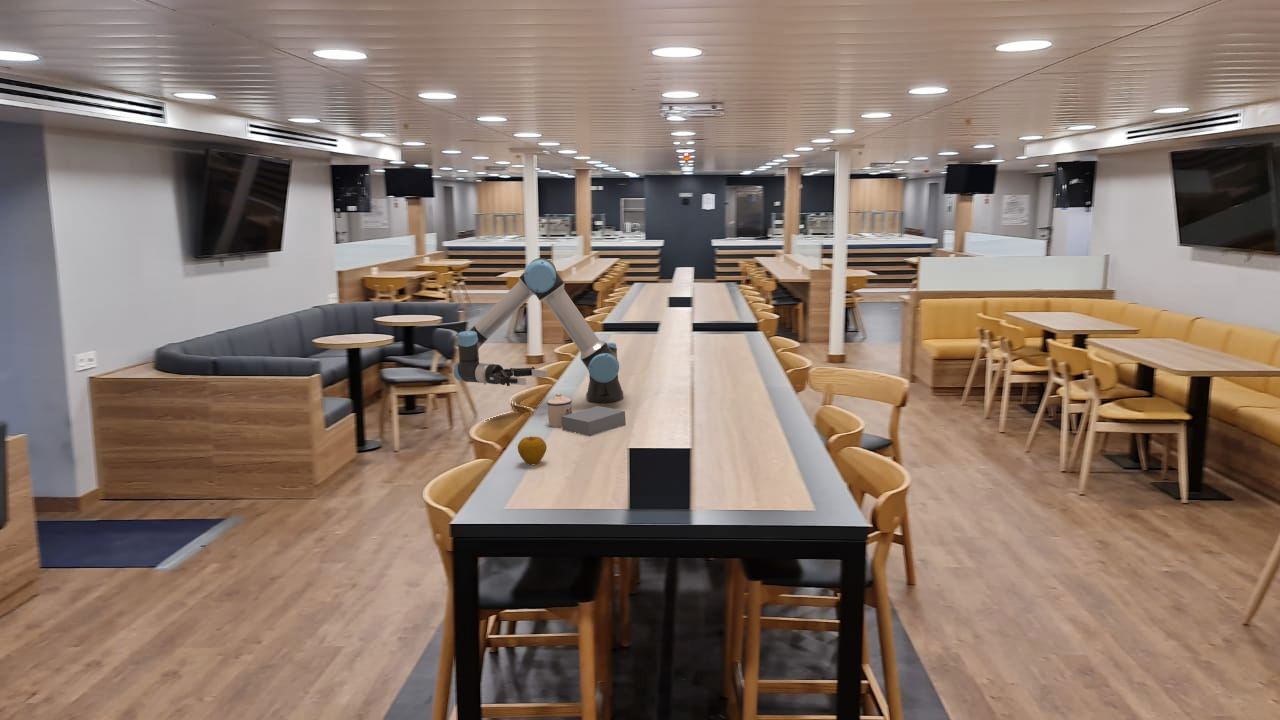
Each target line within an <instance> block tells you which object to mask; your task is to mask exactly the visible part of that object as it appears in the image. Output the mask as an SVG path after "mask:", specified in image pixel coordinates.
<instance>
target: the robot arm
mask: <svg viewBox="0 0 1280 720" xmlns="http://www.w3.org/2000/svg"><path fill="white" fill-rule="evenodd" d="M533 296H536V297H537V299H538V300H539V302H544V303H545V304H546V306H548V308H549V309H550V311H551V312H552V314H553V315H554V316H555V318H556V319H557V321H558V322H559V324H560V325H561V326H562V328H563V329H564V331H565V332H566V333H567V335H568V336H569V338H570V339H571V340H572V342H573V344H574V345H575V346H576V347H577V349H578V350H579V352H580V357H579V359H580V360H581V362H582V363H583V365H584V366H585V368H586V369H587V370H588V376H589V378H588V379H589V381H588V385H587V386H588V388H587V392H586V394H585V399H587V400H588V401H587V400H586V401H587V402H589V401H591V402H590V403H594V402H602V403H603V402H608V403H614V401H615V402H619V401H621V400H623V399H624V391H623V390H622V386H621V384H620V381H619V371H620V362H619V360H618V348H617V344H616V342H606V341H605V340H600V339H599V338H598V336H597V335H596V333H595V332H594V330H593V329H592V327H591V325H589V323H588V322H587V321H586V319H585V318H584V316H583V315H582V313H581V312H580V311H579V309H578V308H577V306H576V305H575V304H574V302H573V300H572V299H571V298H570V296H569V294H568V293H567V292H566V290H565V282H564V281H563V279H562V277H561V275H560V274H559V272H558V271H557V268H556V266H555V264H554V263H553V262H552V261H551V260H549V259H547V258H544V257H539V258H535V259H533V260H531V262H529V264H528V265H527V266H526V268H525V270H524V272H522V274H521V275H520V276H518V281H517V283H515V284H514V285H513V286H512V287H511V288H510V290H508V291H507V292H506V293H505V295H504V296H502V297H501V298H500V299H499V301H497V302H496V304H495V305H493V306H492V307H491V308H490V309H489V311H488V312H486V314H484V316H483V317H481V318H480V319H479V320H478V321H477V323H475V325H474V326H472V327H471V328H470V329H469V330H467V331H466V330H465V331H459V332H458V333H457V340H456V341H457V348H458V349H457V351H458V358H459V361H458V362H456V363H455V365H454V366H453V368H454V369H453V371H452V372H453V376H454V378H455V379H456V380H457V381H460V382H465V383H480V384H483V385H487V384H490V385H502V386H505V385H506V387H510V386H511V385H519V386H520V385H521V386H526V385H527V377H530V376H532V377H535V378H548V370H547V369H539V368H538V369H537V368H536V367H534V366H532V367H522V368H521V367H520V368H519V367H518V368H512V367H510V368H503V366H502V365H500V364H494V363H485V362H484V363H482V362H480V358H479V357H480V356H479V355H480V354H479V349H480V348H481V347H482V345H484V343H486V342H487V341H488V339H490V338H491V337H492V336H493V334H494V333H496V332H497V330H499V329H500V327H502V326H503V324H504V323H506V321H508V320H509V319H510V317H512V316H513V315H514V314H515V313H516V312H517V311H518V310H519V309H520V308H521V307H522V306H523V305H524V304H526V302H527V301H528V300H530V298H531V297H533ZM618 400H619V401H618ZM602 403H601V404H602ZM603 404H604V403H603Z"/></svg>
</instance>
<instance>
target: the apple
mask: <svg viewBox="0 0 1280 720" xmlns="http://www.w3.org/2000/svg"><path fill="white" fill-rule="evenodd" d="M547 448H548V447H547V444H546V442H545V440H544V439H543V438H541V437H539V436H531V435H530V436H526V437H523V438H521V439H520V440H519V442H518V444H517V452H518V454H519V456H520V458H521V459H522V460H523V461H524V463H526V464H527V465H528V464H529V466H533V465H532V464H536V465H538V464H540V463H541V461H542V459H543V458H544V456H545V453H546V452H547ZM537 463H538V464H537Z"/></svg>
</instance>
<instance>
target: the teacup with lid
mask: <svg viewBox="0 0 1280 720" xmlns="http://www.w3.org/2000/svg"><path fill="white" fill-rule="evenodd" d="M572 402H573V401H572V399H571V398H570V397H566V396H565V395H562V392H561V393H560V392H556V394H555V396H553V397H552V398H549V399H548V400H547V401H546V404H547V414H548V415H547V417H548V425H549V426H550V427H551V428H562V416H565V415H568V414H572V413H573V410H572Z"/></svg>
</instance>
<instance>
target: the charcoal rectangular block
mask: <svg viewBox="0 0 1280 720" xmlns="http://www.w3.org/2000/svg"><path fill="white" fill-rule="evenodd" d="M625 425H626V410H623V409H616V408H612V407H605V406H600V405H596V406H593V407H589V408H586V409H582V410H579V411H576V412H572V414H568V415H565V416H562V427H561V428H562V431H565V430H566V431H565V432H569V431H571V433H574V432H576V433H575V434H578V433H580V434H579V435H583V436H587V435H588V437H591V436H593V435H597V434H600V433H603V432H606V431H609V430H612V429H616V428H618V427H622V426H625Z"/></svg>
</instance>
